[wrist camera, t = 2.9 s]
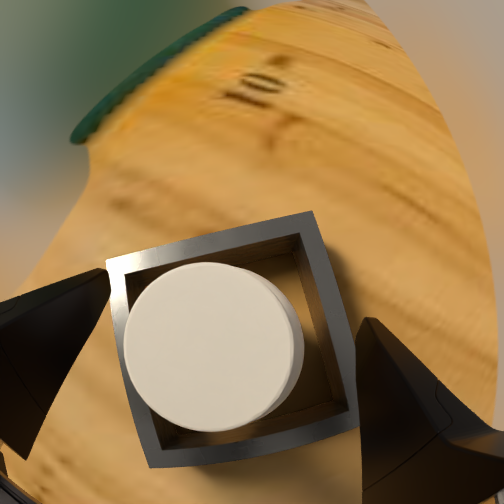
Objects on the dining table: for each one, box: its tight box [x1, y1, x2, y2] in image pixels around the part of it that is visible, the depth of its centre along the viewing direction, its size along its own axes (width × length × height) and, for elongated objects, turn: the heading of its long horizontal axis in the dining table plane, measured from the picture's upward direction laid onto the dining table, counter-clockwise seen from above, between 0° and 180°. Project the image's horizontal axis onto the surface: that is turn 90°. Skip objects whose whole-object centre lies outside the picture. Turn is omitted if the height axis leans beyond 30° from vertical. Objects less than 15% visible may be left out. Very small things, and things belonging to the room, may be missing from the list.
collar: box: [106, 211, 360, 468], centre depth 14 cm, size 11×11×3 cm
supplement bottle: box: [123, 262, 304, 432], centre depth 10 cm, size 5×5×10 cm
